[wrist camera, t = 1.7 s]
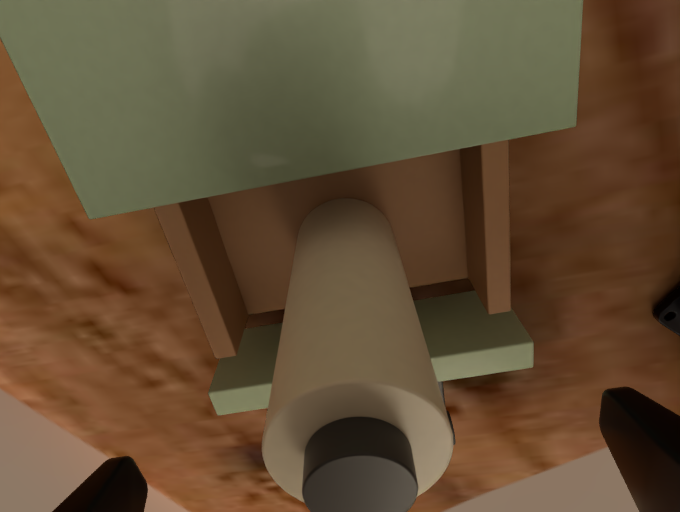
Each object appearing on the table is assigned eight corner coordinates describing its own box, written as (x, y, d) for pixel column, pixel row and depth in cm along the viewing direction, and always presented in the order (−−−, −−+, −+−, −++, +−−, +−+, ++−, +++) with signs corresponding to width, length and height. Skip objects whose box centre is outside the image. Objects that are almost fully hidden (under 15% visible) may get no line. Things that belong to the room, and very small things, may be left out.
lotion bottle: (412, 229, 16) (510, 470, 7) (359, 299, 17) (386, 574, 9) (329, 179, 15) (324, 385, 6) (280, 257, 17) (218, 516, 8)
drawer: (501, 388, 21) (532, 455, 18) (264, 423, 22) (251, 493, 19) (488, -41, 13) (541, -66, 10) (119, 41, 14) (52, 43, 11)
